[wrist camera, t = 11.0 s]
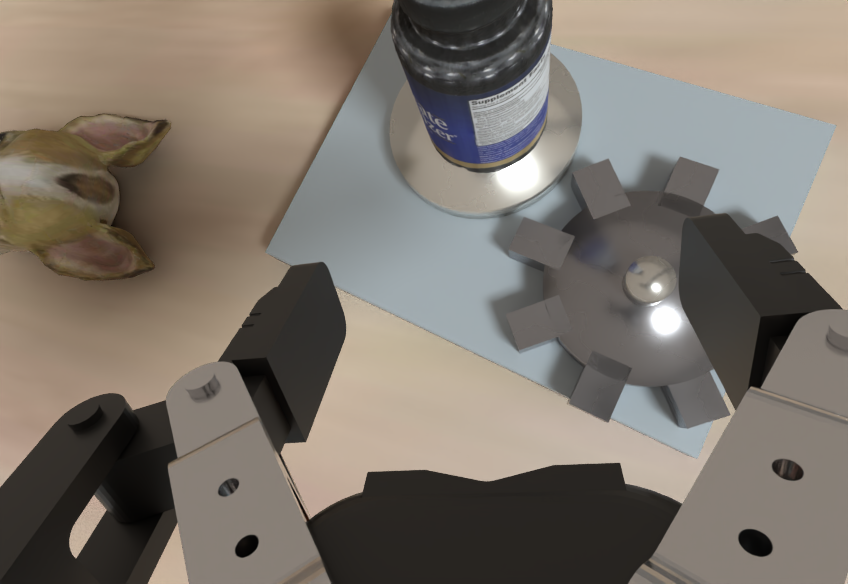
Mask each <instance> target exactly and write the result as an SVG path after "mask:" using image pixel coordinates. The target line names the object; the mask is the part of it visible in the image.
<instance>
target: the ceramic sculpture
mask: <svg viewBox="0 0 848 584" xmlns="http://www.w3.org/2000/svg"><path fill="white" fill-rule="evenodd" d="M170 129H171V123H170V121H168V120H156V121H154V122H152V121H147V120H141V119H137V118H130V117H124V118H123V117H120V116H118V115H111V114H98V115H96V116H80V117H78V118H76V119H74V120H72V121H71V122H69V123H67V124H66V125H65V126H64V127H63V128H62V129H60V130H59V131H58V132H57V131H46V130H40V129H32V130H28V131H15V130H14V131H6V132H1V133H0V254H4V253H7V252H9V251H11V250H13V251H18V252H22V251H28V250H29V251H31V252H32V253H34V254H35V255H37V256H38V257H39V259H40V260H41V261H42V262H43V263H44V265H45V266H47V267H48V268H50V269H51V270H53V271H54V272H55V273H57V274H58V275H64V276H71V277H77V278H80V279H82V280H100V281H103V280H116V279H125V278H131V277H134V276H137V275H139V274H142V273H145V272H147V271H150V270H152V269H154V268H155V265H154V264H153V262H152V261H151V260H150V259H149V258H148V257H147V255H146V254H145V252H144V251H143V249H142V248H141V246H140V245H139V243H138V242H137V241H136V239H135V238H134V237H133V235H132V234H131V233H129V232H127V231H126V230H123V229H119V228H116V227H112V226H111V224H112V222H113V220H114V218H115V215H116V213H117V211H118V206H119V186H118V183H117V181H116V179H115V178H114V176H113V175H112V174H111V173H110V172H109V171H108V166H117V167H126V168H127V167H135V166H137V165H139V164H141V163H143V162H144V160H145V159H146V158H147V157H148V156H149V155H150V154H151V153H152V152H153V151H154V150H155V148H156V147H157V146H158V144H159V143H160V141H161V140H162V139H163V138H164V136H165V135H166V134H167V132H168V131H169V130H170Z"/></svg>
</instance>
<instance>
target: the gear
mask: <svg viewBox="0 0 848 584" xmlns="http://www.w3.org/2000/svg"><path fill="white" fill-rule="evenodd" d="M719 170H720V169H717V168H714V167H711V166H708V165H705V164H702V163H699V162H695V161H692V160H689V159H686V158H683V157H679V159H678V161H677V162H676V164H675V166H674V167H673V169H672V171H671V173H670V175H669V178H668V180H667V182H666V184H665V187H664V189H663V191H662V192H660V191H631V192H624V190H623V188H622V186H621V183H620V181H619V179H618V177H617V175H616V173H615V171H614V169H613V167H612V164H611V162H610V160H609V158H608V159H605V160H603V161H600V162H598V163H595V164H593V165H590V166H587V167H585V168H582V169H580V170H577V171H575V172H572V178H571V184H570V185H571V187H572V190H573V192H574V194H575V196H576V199H577V201H578V203H579V205H580V208H581V210H582V211H581V212H579V213H578V214H577V215H576V216H574V217H573V218H572V219H571V220H570V221H569V222H568V223H567V224H566V225H565V226H564V228H563V229H562V230H561V231H560V230H557V229H555V228H552V227H550V226H547V225H544V224H542V223H539V222H537V221H534V220H531V219H529V218H526V217H523V220H522V222H521V224H520V226H519V228H518V230H517V232H516V234H515V236H514V238H513V240H512V243H511V245H510V247H509V249H508V251H509V257H510V258H511V259H514V260H516V261H518V262H521V263H523V264H526V265H528V266H531V267H533V268H535V269H538V270H540V271H543V272H544V276H543V288H542V290H543V301H541V302H538V303H535V304H532V305H530V306H527V307H524V308H521V309H519V310H516V311H513V312H510V313H508V314H506V317H507V320H508V323H509V325H510V328H511V331H512V333H513V336H514V339H515V341H516V344H517V347H518V349H519V352H520V353H523V352H526V351H529V350H532V349H534V348H537V347H540V346H543V345H546V344H549V343H552V342H554V341H557V340H558V342H559V343H560V345H561V346H562V347H563V348H564V349H565V351H566V352H567V353H568V354H569V355H570V356H571V357H572V358H573V359H574V360H575V361H576V362H578V363H579V364H580V365H581V366H583V369H582V371H581V373H580V376H579V378H578V380H577V382H576V385H575V387H574V389H573V391H572V393H571V396H570V398H569V400H568V402H567V404H569V405H571V406H573V407H575V408H577V409H579V410H581V411H583V412H585V413H587V414H590V415H592V416H594V417H596V418H598V419H600V420H602V421H604V422H609V420H610V418H611V416H612V413H613V411H614V409H615V406H616V404H617V402H618V400H619V397H620V395H621V393H622V391H623V388H624V386H625V385H627V386H635V387H659V386H660V387H661V390H662V392H663V394H664V396H665V398H666V401H667V403H668V405H669V407H670V410H671V412H672V414H673V416H674V419H675V421H676V423H677V425H678V427H680V428H686V429H689V428H692V427H695V426H698V425H701V424H704V423H707V422H710V421H714V420H717V419H720V418H723V417H726V416H729V415H730V413H729V411H728V408H727V406H726V404H725V402H724V400H723V398H722V396H721V394H720V392H719V389H718V387H717V385H716V383H715V381H714V379H713V377H712V375H711V373H710V371H711V370H713V369H714V368H713V366H712V364H711V362H710V360H709V358H708V356H707V354H706V352H705V351H704V349H703V347H702V345H701V343H700V341H699V339H698V337H697V335H696V333H695V331H694V329H693V327H692V325H691V324H690V322H689V320H688V318H687V316H686V314H685V312H684V310H683V308H682V305H681V301H680V296H679V284H678V283H679V267H680V254H681V240H682V228H683V223H684V220H685V219H686V218H688V217H696V216H704V215H712V214H715V213H714V212H713V211H711V210H710V209H708V208H707V207H705V206H704V204H705V202H706V199H707V197H708V195H709V192H710V190H711V188H712V186H713V183H714V181H715V179H716V177H717V174H718V172H719ZM742 230H743V232H744V233H745V234H752V233H759V234H761V235H763V236H765V237H767V238H769V239H771V240H773V241H775V242H778V243H780V244H781V245H782V246H783V247H784V248H785V249H786V250H787V251H788V252H789V253H790V254H791V255H794V254H796V253H797V252H798V251H797V249H796V247H795V245H794V244H793V242H792V240H791V238H790V237H789V235H788V233H787V231H786V229H785V228H784V226H783V224H782V222H781V220H780V219H779V217H778V216H775V217H772V218H769V219H767V220H764V221H761V222H758V223H756V224H753V225H750V226H747V227H745V228H742Z"/></svg>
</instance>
